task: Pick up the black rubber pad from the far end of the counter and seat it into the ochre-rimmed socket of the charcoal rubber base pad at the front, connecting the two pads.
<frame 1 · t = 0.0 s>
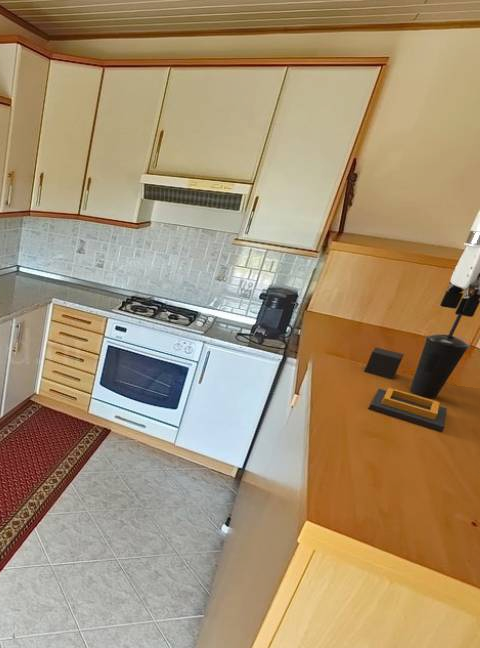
hand: (455, 311, 120), 19 cm above the worktop, tool pointing down, fingers open, 9 cm apart
base pad: (406, 411, 106), on the worktop
black pad: (379, 372, 129), on the worktop
drinking cup: (422, 394, 117), on the worktop
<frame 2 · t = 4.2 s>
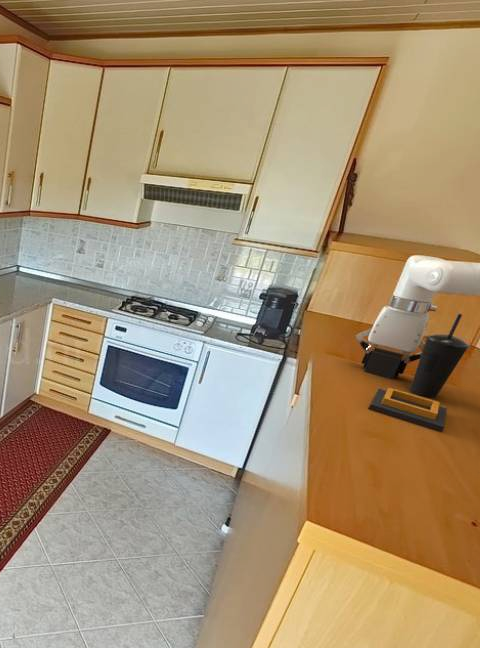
hand: (380, 370, 129), 1 cm above the worktop, tool pointing down, fingers closed on black pad, 6 cm apart
black pad: (379, 372, 129), on the worktop, touching gripper
everything else where it was.
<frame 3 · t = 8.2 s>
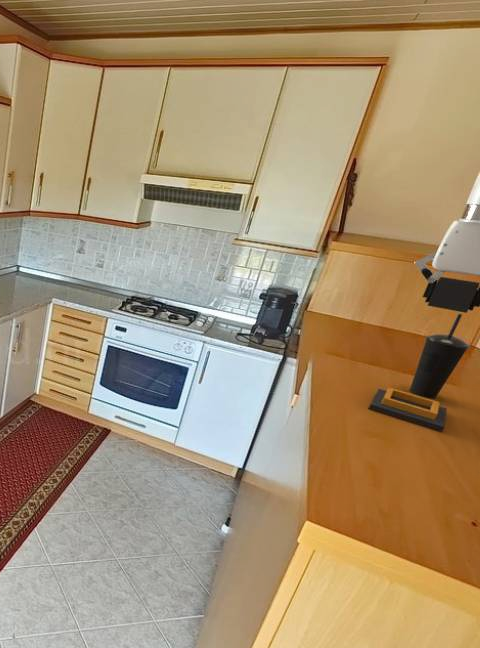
hand: (448, 304, 101), 23 cm above the worktop, tool pointing down, fingers closed on black pad, 6 cm apart
black pad: (447, 307, 101), point 23 cm above the worktop, touching gripper
everything else where it was.
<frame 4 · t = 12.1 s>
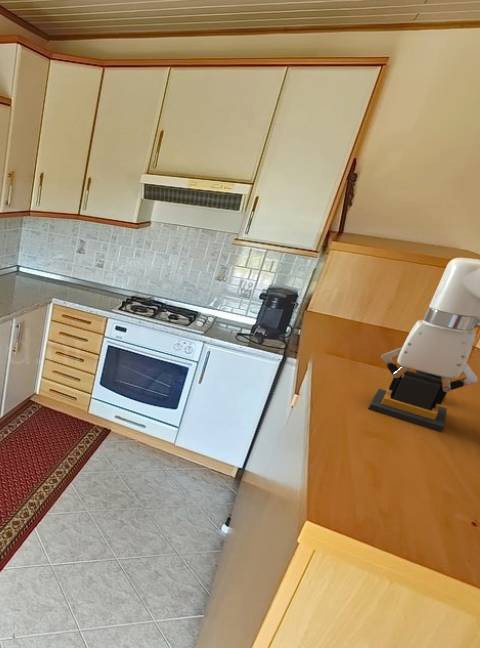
hand: (412, 399, 105), 3 cm above the worktop, tool pointing down, fingers closed on black pad, 6 cm apart
black pad: (411, 401, 105), point 2 cm above the worktop, touching gripper
everything else where it was.
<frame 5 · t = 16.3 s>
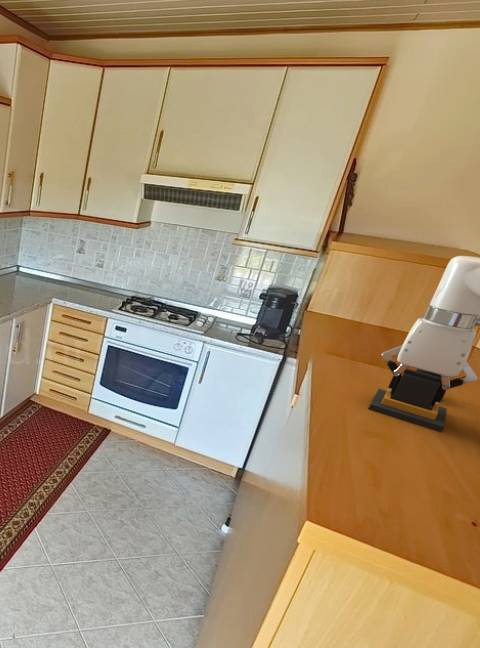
hand: (412, 397, 105), 3 cm above the worktop, tool pointing down, fingers closed on black pad, 6 cm apart
black pad: (411, 399, 105), point 3 cm above the worktop, touching gripper
everything else where it was.
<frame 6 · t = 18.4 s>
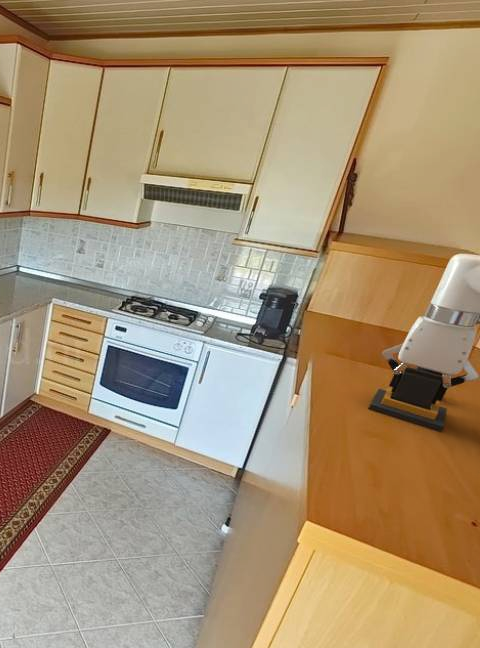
hand: (413, 395, 105), 4 cm above the worktop, tool pointing down, fingers closed on black pad, 6 cm apart
black pad: (412, 398, 105), point 3 cm above the worktop, touching gripper
everything else where it was.
when the fingers open (4 cm above the worktop, at t = 20.4 s): black pad drops 2 cm, resting on base pad.
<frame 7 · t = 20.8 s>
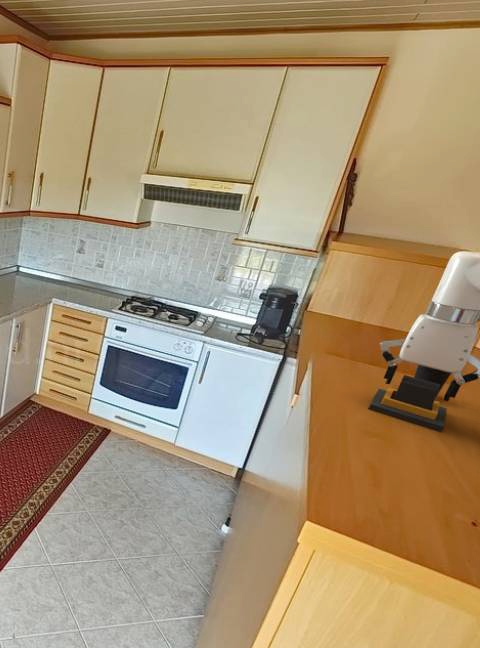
hand: (416, 390, 104), 5 cm above the worktop, tool pointing down, fingers open, 9 cm apart
black pad: (409, 406, 106), point 1 cm above the worktop, touching base pad
everything else where it was.
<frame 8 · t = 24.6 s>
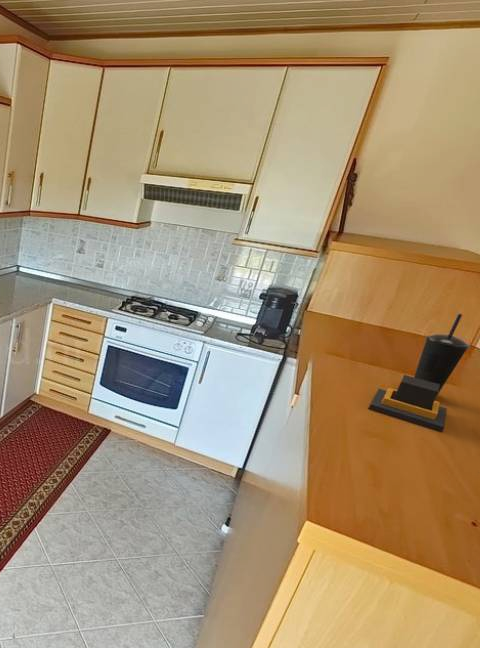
nothing on the worktop moved.
at the end: black pad 0.1 cm off-centre on the base pad, point 1.2 cm above the base pad's base; black pad tilted 0°; the gripper is holding nothing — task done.
